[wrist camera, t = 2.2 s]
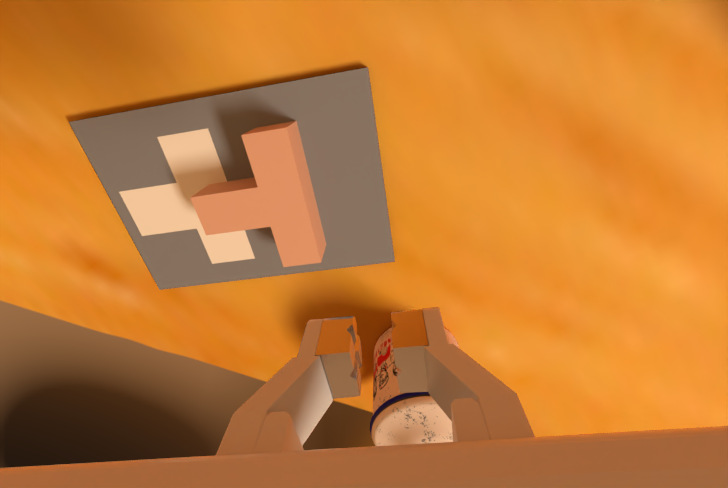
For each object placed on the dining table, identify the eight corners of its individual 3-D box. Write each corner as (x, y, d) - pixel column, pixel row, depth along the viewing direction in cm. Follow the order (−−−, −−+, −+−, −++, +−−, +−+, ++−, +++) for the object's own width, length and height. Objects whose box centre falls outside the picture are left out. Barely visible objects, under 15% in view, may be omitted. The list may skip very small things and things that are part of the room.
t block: (296, 120, 24) (286, 127, 21) (326, 244, 28) (321, 262, 26) (191, 138, 24) (168, 147, 22) (236, 255, 29) (222, 274, 26)
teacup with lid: (399, 302, 32) (409, 417, 21) (478, 337, 33) (523, 459, 23) (344, 379, 37) (332, 500, 26) (415, 406, 38) (429, 530, 28)
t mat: (368, 67, 22) (367, 67, 22) (394, 258, 29) (394, 261, 29) (75, 120, 25) (68, 122, 24) (163, 285, 32) (159, 289, 31)
